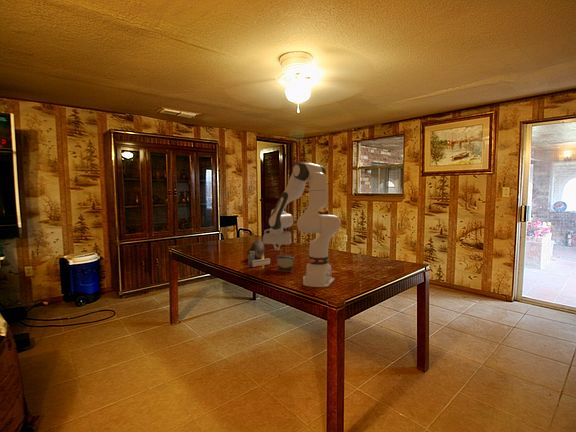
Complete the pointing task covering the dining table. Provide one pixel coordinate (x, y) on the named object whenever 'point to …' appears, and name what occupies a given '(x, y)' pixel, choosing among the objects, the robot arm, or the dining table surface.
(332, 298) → the dining table surface
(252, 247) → the stone
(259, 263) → the gate leaf
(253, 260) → the latch stile
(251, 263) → the hinge post
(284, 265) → the food container
